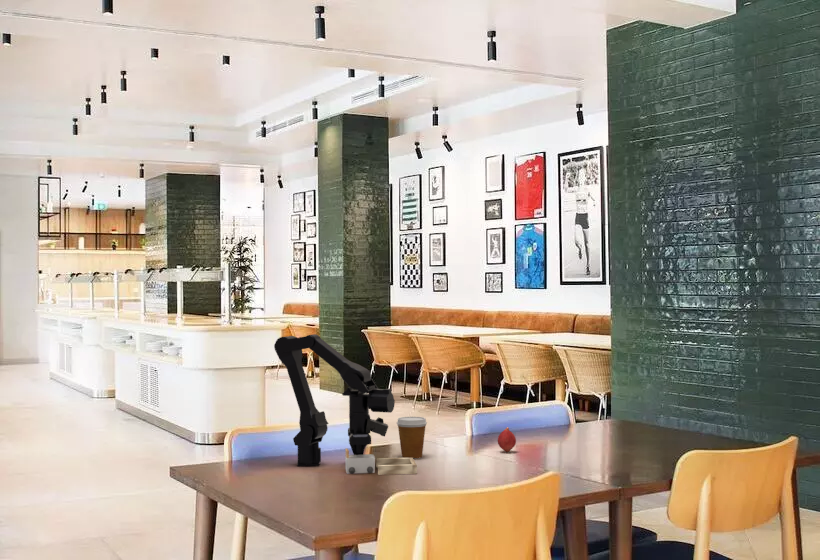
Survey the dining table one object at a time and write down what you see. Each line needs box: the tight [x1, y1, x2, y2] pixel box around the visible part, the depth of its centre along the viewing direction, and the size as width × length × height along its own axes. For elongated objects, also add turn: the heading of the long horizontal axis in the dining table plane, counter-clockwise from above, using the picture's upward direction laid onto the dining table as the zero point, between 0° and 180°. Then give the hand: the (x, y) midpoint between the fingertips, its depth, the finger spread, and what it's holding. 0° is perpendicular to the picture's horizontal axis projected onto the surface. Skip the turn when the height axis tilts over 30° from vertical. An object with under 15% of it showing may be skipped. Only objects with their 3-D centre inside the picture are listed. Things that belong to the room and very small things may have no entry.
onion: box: [497, 426, 517, 453], centre depth 301 cm, size 6×6×8 cm
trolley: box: [344, 448, 376, 475], centre depth 271 cm, size 8×7×6 cm
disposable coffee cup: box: [396, 416, 428, 459], centre depth 293 cm, size 10×10×12 cm
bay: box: [375, 457, 418, 476], centre depth 272 cm, size 11×12×2 cm
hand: (359, 464), depth 275 cm, fingers closed
